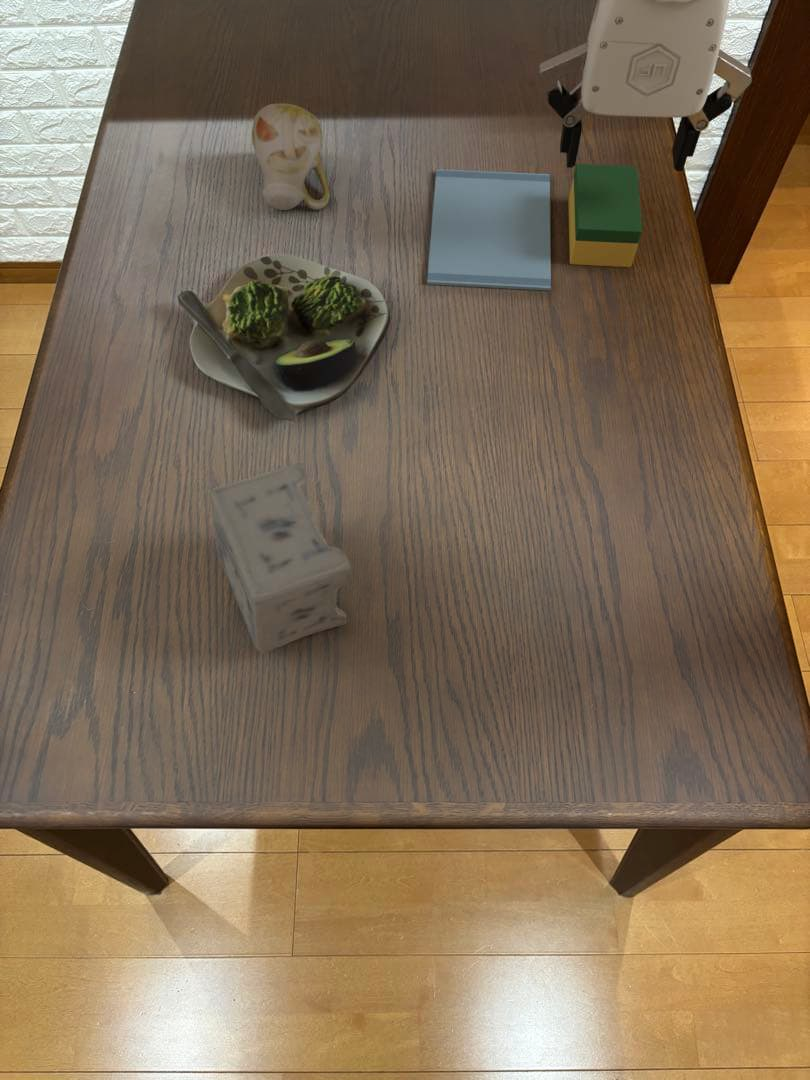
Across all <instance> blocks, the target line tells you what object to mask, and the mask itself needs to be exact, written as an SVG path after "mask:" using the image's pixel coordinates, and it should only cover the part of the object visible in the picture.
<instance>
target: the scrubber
mask: <svg viewBox="0 0 810 1080" xmlns="http://www.w3.org/2000/svg"><path fill="white" fill-rule="evenodd" d="M574 167H575V168H574V172H573V177H572V182H571V187H570V191H569V196H568V235H569V236H568V239H569V241H568V242H569V243H568V244H569V265H577V266H595V267H596V266H599V267H615V268H616V267H617V268H618V267H619V268H632V265H633V263H634V259H635V255H636V252H637V250H638V246H639V243H640V239H641V236H642V233H643V226H642V225H643V224H642V212H641V201H640V200H641V199H640V198H641V197H640V187H639V174H638V166H635V165H617V164H616V165H615V164H593V163H576V164H575V166H574Z"/></svg>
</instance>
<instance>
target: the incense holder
mask: <svg viewBox="0 0 810 1080" xmlns="http://www.w3.org/2000/svg"><path fill="white" fill-rule="evenodd" d="M309 480H310V479H309V476H308V473H307V472H306V469H305V467H304V465H303V463H301V462H298V463H294V464H290V465H286V466H282V467H279V468H276V469H274V470H269V471H267V472H263V473H259V474H256V475H253V476H250V477H248V478H244V479H240V480H236V481H233V482H232V483H228V484H224V485H221V486H217V487H216V486H215V487H213V488H211V489H210V492H209V502H210V509H211V515H212V519H213V520H212V521H213V522H212V523H213V529H214V537H215V539H214V540H215V549H216V554H217V557H218V560H219V563H220V566H221V567H222V569H223V571H224V574H225V575H226V578H227V580H228V583H229V585H230V588H231V590H232V592H233V595H234V597H235V600H236V603H237V605H238V608H239V610H240V612H241V615H242V617H243V620H244V623H245V626H246V628H247V631H248V633H249V636H250V639H251V641H252V644H253V646H254V648H255V649H256V650H257V651H258V652H259V653H260V654H267V653H269V652H272V651H273V650H275V649H279V648H280V647H283V646H286V645H288V644H290V643H292V642H294V641H299V640H300V639H302V638H305V637H307V636H311V635H314V634H317V633H321V632H324V631H326V630H330V629H334V628H337V627H342V626H345V625H347V622H348V616H347V613H346V612H345V611H344V610H343V609H341V608H340V607H338V605H337V602H338V599H339V598H338V590H339V589H340V587H341V586H343V585H345V584H347V583H349V582H350V580H351V578H352V565H351V562H350V560H349V558H348V556H347V554H346V553H345V551H343V550H341V549H340V548H339V547H338V546H331V545H330V544H329V543H328V542H327V540H326V538H325V537H324V535H323V534H322V532H321V530H320V527H319V525H318V522H317V520H316V518H315V517H314V514H313V513H314V512H313V511H312V509H311V506H310V504H309V503H308V501H307V499H306V497H305V495H304V493H303V487H304V485H306V484H307V482H309Z"/></svg>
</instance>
